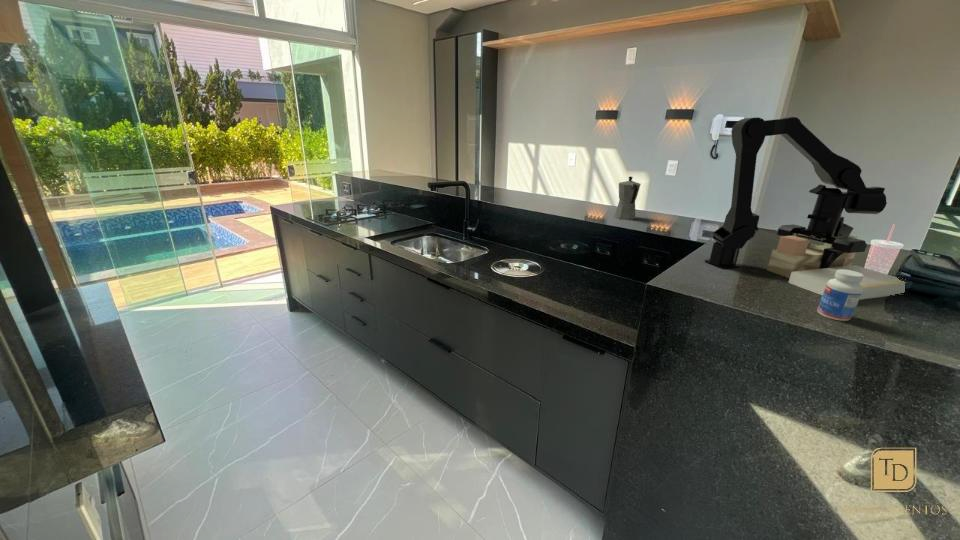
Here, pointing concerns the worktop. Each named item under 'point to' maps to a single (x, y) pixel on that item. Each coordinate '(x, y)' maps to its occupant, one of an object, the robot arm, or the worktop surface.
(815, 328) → the worktop surface
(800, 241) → the salmon pink cube
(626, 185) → the coffeepot
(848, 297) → the pill bottle
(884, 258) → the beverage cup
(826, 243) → the pale green cube
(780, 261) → the brown long block
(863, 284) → the dock
